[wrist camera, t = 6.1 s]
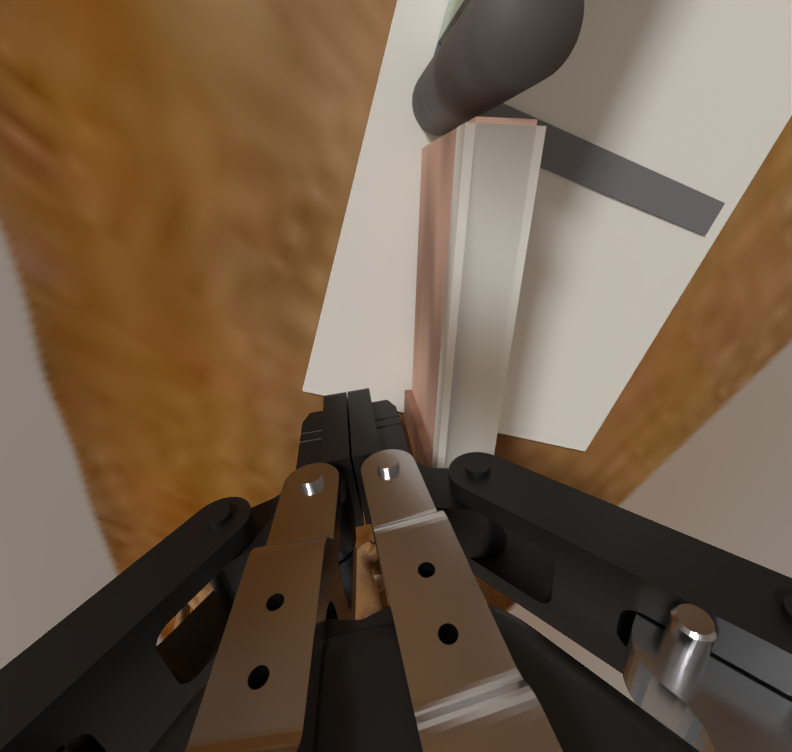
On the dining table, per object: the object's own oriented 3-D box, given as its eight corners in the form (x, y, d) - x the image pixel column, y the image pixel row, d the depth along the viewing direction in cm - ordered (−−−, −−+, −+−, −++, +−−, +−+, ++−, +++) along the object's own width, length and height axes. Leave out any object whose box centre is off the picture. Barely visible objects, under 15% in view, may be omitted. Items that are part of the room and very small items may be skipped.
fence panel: (412, 147, 12) (460, 115, 7) (467, 149, 12) (552, 120, 7) (403, 418, 16) (430, 516, 11) (444, 416, 16) (488, 512, 12)
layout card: (535, -566, 8) (547, -615, 7) (953, -170, 11) (979, -185, 10) (303, 386, 16) (302, 391, 15) (580, 446, 19) (586, 452, 19)
